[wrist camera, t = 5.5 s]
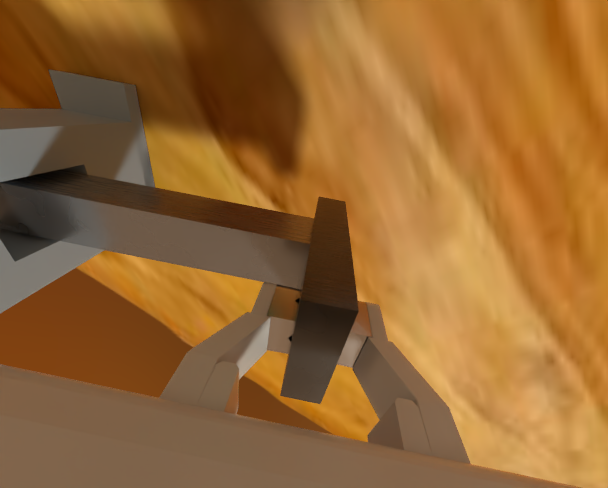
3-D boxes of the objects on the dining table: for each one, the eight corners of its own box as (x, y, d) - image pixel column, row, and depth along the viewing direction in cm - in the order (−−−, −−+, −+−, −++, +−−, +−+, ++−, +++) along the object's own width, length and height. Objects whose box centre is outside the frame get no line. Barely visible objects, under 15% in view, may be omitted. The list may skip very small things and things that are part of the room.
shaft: (9, 136, 13) (-362, 166, 6) (345, 201, 13) (358, 311, 6) (47, 215, 15) (-181, 299, 9) (326, 271, 15) (320, 404, 8)
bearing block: (64, 71, 15) (-421, 1, 5) (135, 85, 15) (-228, 38, 5) (113, 226, 22) (-71, 324, 12) (164, 236, 21) (21, 343, 12)
